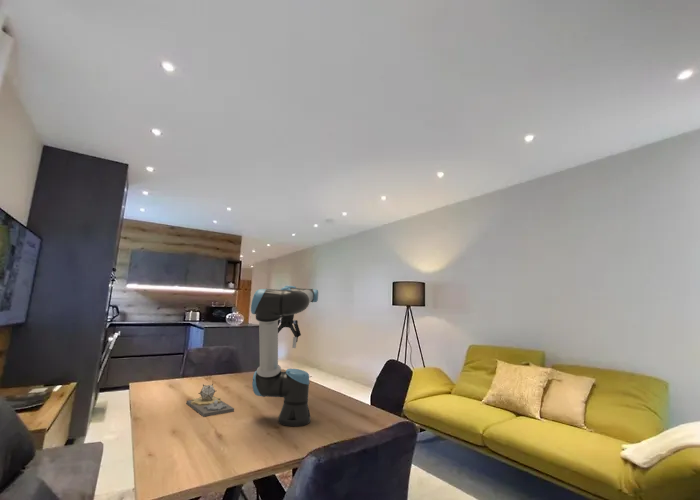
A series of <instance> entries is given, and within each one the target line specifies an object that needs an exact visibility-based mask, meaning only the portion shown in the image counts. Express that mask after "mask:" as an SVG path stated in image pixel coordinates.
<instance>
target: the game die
mask: <svg viewBox="0 0 700 500" xmlns="http://www.w3.org/2000/svg"><path fill="white" fill-rule="evenodd" d="M215 393H216V389H215V388H214V383H212V384H207V385H206V384H205V385H204V384H202V388H201V389H200V392H198V394H199V396H200V397H202V399H203V400H207V399H211V400H212V397H213V396H214V395H215ZM198 394H197V395H198ZM203 400H202V401H203Z"/></svg>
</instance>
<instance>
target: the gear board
mask: <svg viewBox="0 0 700 500" xmlns="http://www.w3.org/2000/svg"><path fill="white" fill-rule="evenodd" d="M202 400H203V399H202V397H201V396H199V397H198V398H192V399H189V400H186V405H187V406H189V407H190V408H191V409H193V410H194V411H195V412H196V413H198V414H199V415H201V417H203V418H205V417H206V418H207V417H211V416H217V415H221V414H222V415H223V414H227V413H233V412H235V408H234V407H233V406H231V405H230V404H228V403H226V402H224V401H223V400H221V397H216V396H214V395H213V397H212V400H211V399H207V400H203V401H202Z"/></svg>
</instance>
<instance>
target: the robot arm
mask: <svg viewBox="0 0 700 500" xmlns="http://www.w3.org/2000/svg"><path fill="white" fill-rule="evenodd" d="M318 301H319V290H318V289H317V288H302V287H301V288H299V287H298V288H297V287H296V286H295V285H285V286H284V287H281V288H280V289H275V288H274V289H272V288H259V289H257V290H256V291H255V292H254V294H253V296H252V300H251V304H250V305H251V306H250V312H251V314H252V315H255V320H256V321H257V322H258V324H259V325H258V329H259V332H258V334H259V335H258V337H259V339H258V341H259V342H258V343H259V366H258V367H257V369H256V370H255V371H254V373H253V376H252V391H253V393H254V395H255V396H257V397H263V398H265V397H267V398H283V405H282V408H281V410H280V412H279V415H278V423H279V424H281V425H282V426H286V427H287V426H288V427H302V426H306V425H308V424H311V413H310V407H309V390H310V389H309V388H310V383H311V382H310V373H308V372H307V371H306V370H302V369H299V368H287V369H286V370H285V371H282V367H281V365H279V333H280V332H281V331H282V330H283V328H288V329H290V331H291V332H292V335H293V337H292V347H291V348H292V349H297V343H298V339H299V337H301V336H302V334H301V330H300V328H299V321H298V319H297V320H296V319H294V318H295V315H296V314H299V313H302V312H303V311H305V310H306V309H307V308H308V307H309V305H310V303H318Z"/></svg>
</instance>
